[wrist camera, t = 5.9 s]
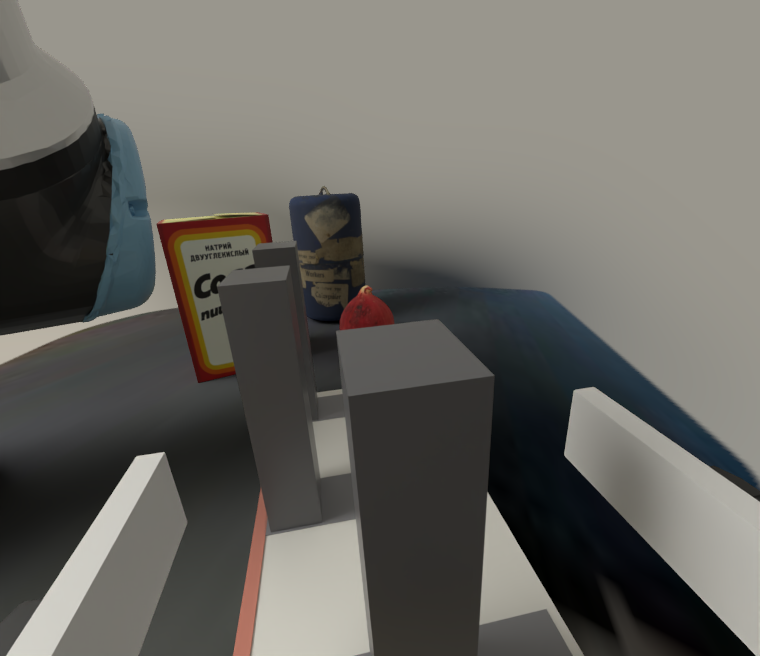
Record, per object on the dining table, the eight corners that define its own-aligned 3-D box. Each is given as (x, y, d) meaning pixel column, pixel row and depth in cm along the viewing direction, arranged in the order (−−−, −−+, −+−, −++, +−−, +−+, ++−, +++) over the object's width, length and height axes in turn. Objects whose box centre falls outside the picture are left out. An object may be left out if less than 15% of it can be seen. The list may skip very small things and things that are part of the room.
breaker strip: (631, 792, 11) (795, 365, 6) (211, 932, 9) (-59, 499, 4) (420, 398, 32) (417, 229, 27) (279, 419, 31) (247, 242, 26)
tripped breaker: (471, 748, 11) (494, 375, 6) (386, 773, 10) (348, 396, 6) (438, 632, 13) (438, 319, 9) (369, 649, 13) (336, 330, 9)
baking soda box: (198, 382, 38) (155, 219, 32) (197, 359, 43) (160, 216, 37) (291, 360, 41) (267, 210, 35) (279, 341, 47) (257, 208, 41)
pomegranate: (381, 372, 37) (376, 296, 35) (333, 364, 40) (325, 292, 37) (403, 350, 42) (400, 281, 39) (359, 343, 45) (353, 278, 42)
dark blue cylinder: (300, 328, 51) (280, 188, 44) (306, 307, 60) (290, 188, 53) (369, 322, 51) (360, 183, 45) (365, 303, 60) (357, 184, 54)
